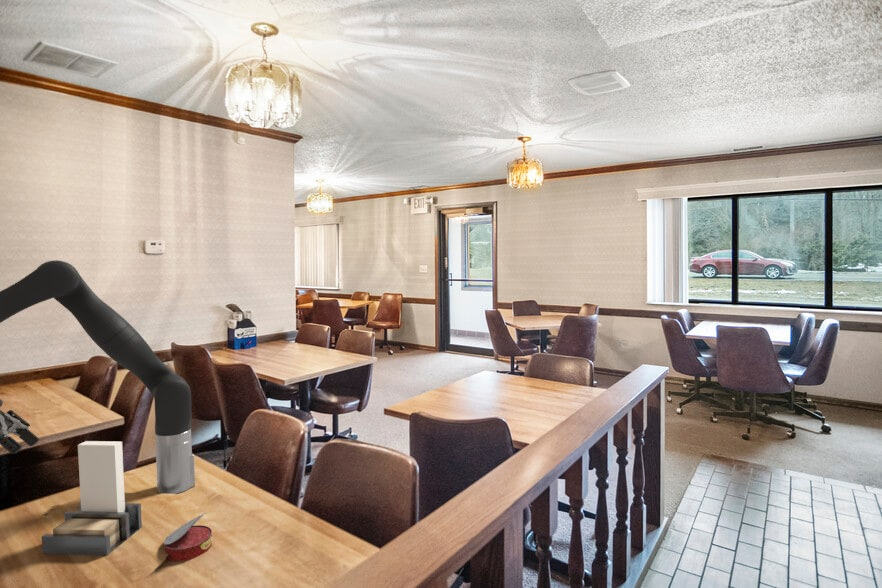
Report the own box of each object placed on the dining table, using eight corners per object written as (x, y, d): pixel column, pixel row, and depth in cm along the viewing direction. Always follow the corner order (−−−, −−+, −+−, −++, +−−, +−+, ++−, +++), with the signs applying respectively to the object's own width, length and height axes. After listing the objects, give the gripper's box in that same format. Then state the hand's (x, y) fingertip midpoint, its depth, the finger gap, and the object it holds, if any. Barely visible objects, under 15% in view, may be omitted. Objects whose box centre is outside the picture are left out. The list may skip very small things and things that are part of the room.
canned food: (184, 581, 108) (162, 555, 104) (167, 559, 115) (145, 533, 110) (229, 540, 115) (210, 513, 111) (210, 521, 122) (191, 495, 117)
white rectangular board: (82, 534, 116) (77, 444, 115) (90, 529, 119) (85, 441, 117) (118, 535, 116) (114, 445, 114) (126, 529, 118) (122, 441, 117)
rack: (42, 560, 109) (41, 527, 108) (83, 531, 120) (81, 502, 120) (107, 561, 108) (106, 529, 108) (142, 532, 120) (140, 503, 119)
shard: (70, 526, 124) (70, 519, 124) (33, 533, 121) (32, 526, 121) (81, 506, 134) (81, 500, 134) (47, 512, 130) (46, 506, 130)
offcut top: (53, 539, 110) (52, 528, 110) (69, 528, 114) (69, 518, 114) (104, 540, 109) (104, 530, 109) (119, 529, 114) (118, 519, 114)
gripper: (-33, 391, 108) (27, 440, 110) (1, 385, 121) (54, 429, 124) (-66, 417, 105) (-4, 466, 108) (-27, 408, 119) (27, 452, 122)
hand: (27, 446), depth 116 cm, fingers open, 8 cm apart
